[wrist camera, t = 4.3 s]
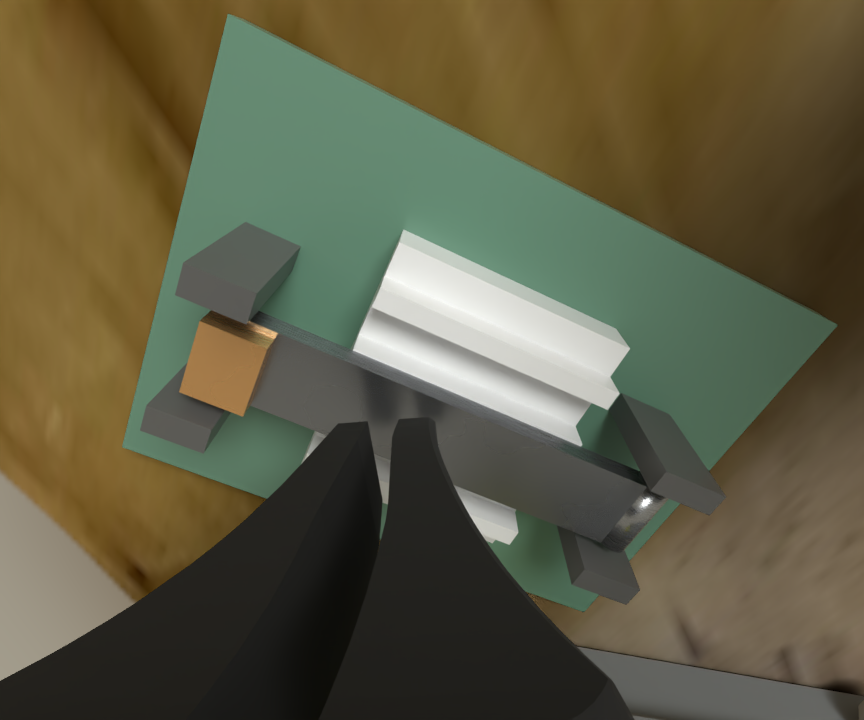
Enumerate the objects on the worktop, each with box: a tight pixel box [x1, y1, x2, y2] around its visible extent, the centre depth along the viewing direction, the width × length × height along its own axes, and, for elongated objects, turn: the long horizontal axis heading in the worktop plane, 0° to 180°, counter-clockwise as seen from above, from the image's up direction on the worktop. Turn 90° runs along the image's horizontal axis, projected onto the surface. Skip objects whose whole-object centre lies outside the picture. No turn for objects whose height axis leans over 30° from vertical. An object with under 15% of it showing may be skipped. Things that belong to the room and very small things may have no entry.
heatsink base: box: [122, 14, 838, 612], centre depth 14 cm, size 16×12×4 cm
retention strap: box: [179, 310, 668, 553], centre depth 12 cm, size 11×2×1 cm, turn 65°
